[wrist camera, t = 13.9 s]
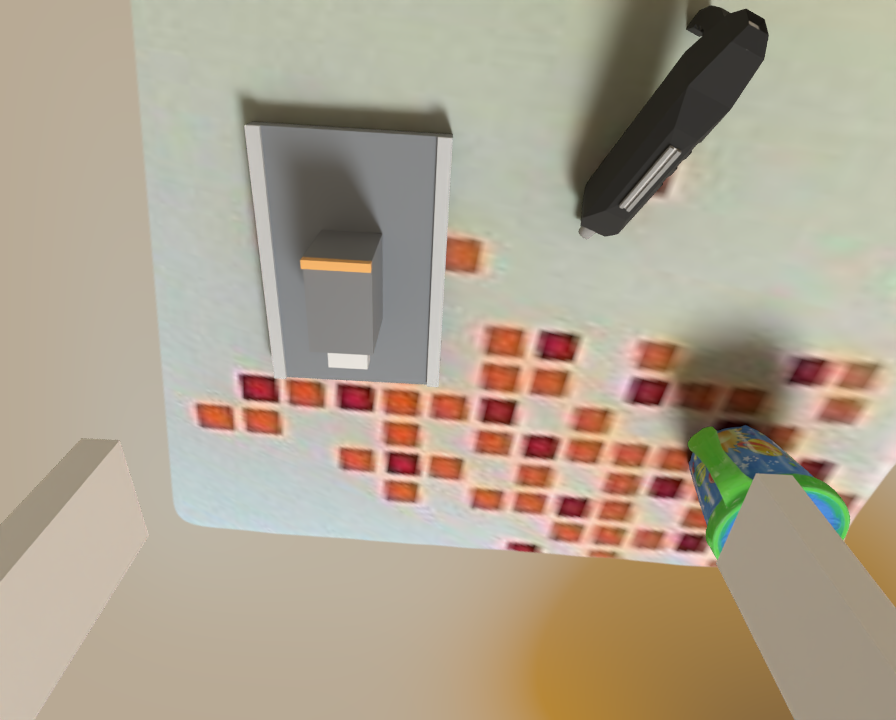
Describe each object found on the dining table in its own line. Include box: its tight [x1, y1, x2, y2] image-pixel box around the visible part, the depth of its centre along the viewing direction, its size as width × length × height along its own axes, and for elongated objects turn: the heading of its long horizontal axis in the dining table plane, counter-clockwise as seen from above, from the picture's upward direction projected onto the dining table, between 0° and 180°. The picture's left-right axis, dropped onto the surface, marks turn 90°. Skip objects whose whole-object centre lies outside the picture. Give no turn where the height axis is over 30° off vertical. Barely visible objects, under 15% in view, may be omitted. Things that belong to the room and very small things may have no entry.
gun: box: [579, 5, 769, 239], centre depth 36 cm, size 3×16×10 cm, turn 157°
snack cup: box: [688, 425, 850, 560], centre depth 48 cm, size 16×10×10 cm
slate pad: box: [244, 122, 453, 387], centre depth 43 cm, size 20×14×2 cm
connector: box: [300, 230, 383, 369], centre depth 40 cm, size 10×4×6 cm, turn 177°
